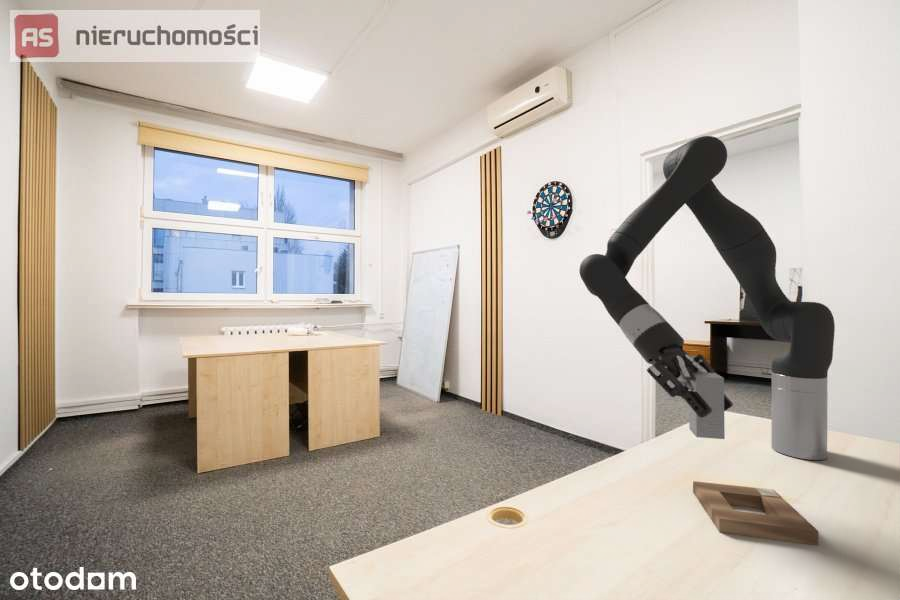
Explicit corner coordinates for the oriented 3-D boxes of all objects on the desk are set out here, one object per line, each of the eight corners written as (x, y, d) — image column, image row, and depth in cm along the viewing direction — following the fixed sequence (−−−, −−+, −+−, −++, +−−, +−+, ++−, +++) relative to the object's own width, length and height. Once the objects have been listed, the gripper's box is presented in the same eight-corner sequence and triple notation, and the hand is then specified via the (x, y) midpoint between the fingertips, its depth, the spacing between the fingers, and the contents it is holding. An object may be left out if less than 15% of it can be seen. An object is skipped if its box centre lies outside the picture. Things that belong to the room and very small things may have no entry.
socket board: (693, 492, 70) (693, 480, 70) (773, 501, 66) (773, 489, 66) (719, 531, 58) (719, 517, 58) (818, 545, 55) (818, 530, 55)
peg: (689, 429, 69) (688, 372, 69) (715, 430, 68) (715, 372, 68) (696, 437, 65) (695, 376, 65) (724, 439, 64) (723, 377, 64)
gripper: (637, 322, 69) (710, 406, 59) (685, 318, 76) (758, 392, 66) (612, 349, 74) (675, 431, 64) (660, 343, 81) (724, 416, 71)
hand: (717, 411), depth 65 cm, fingers closed on peg, 5 cm apart
